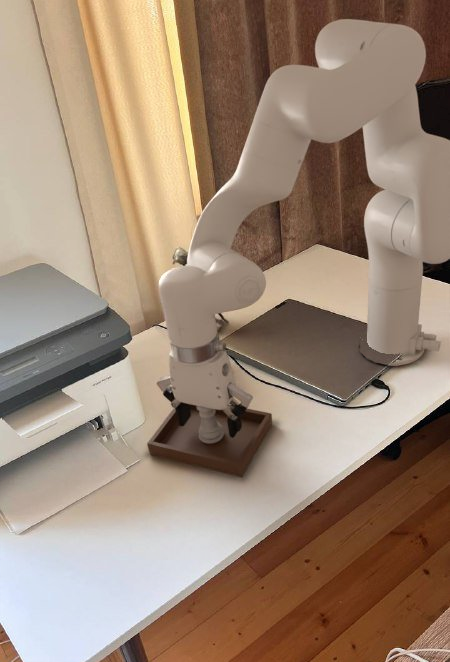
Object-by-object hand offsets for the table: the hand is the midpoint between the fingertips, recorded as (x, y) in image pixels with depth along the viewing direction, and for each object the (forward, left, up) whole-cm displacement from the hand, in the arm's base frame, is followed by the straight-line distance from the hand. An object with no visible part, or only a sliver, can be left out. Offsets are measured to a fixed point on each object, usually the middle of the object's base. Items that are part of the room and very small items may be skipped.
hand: (210, 426), depth 109 cm
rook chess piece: (0, 0, -2) cm, 2 cm away
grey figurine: (+17, -32, -3) cm, 37 cm away
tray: (0, 0, -3) cm, 3 cm away
